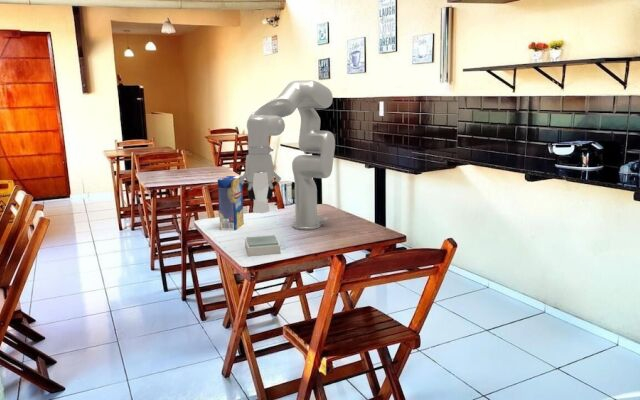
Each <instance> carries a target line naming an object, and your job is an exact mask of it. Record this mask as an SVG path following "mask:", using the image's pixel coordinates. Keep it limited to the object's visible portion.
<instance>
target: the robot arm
mask: <svg viewBox="0 0 640 400" xmlns="http://www.w3.org/2000/svg"><path fill="white" fill-rule="evenodd" d="M333 98H334V96H333V93H332V90H331V89H330V88H329V87H327V86H325V85H324V84H322V83H320V82H319V81H315V80H313V79H312V80H309V79H308V80H293V81H290V82H289V83H288V84H287V85H286V86H285V88H284V89H283V90H282V91H281V92H280V94H279V95H278V96H277V97H276V98H273V99H271V100H269V101H267V102H265V103H263V104H261V105H260V106H258V107H256V108H255V109H254V111H253V112H252V113H251V114H250V116H249V117H248V119H247V120H246V129H247V145H248V147H247V149H248V154H246V156H245V157H246V158H245V172H244V173H243V175H241V176H242V177H241V178H240V179H239V182H240V183H241V184H242V186H244V188H245V189H247V197H248V199H249V200H250V201H251V202H253V201H254V200H253V191H252V182H253V178H254V173H263V172H267V176H268V181H269V186H270V188H269V195H268V201H271V200H272V198H273V193H274V192H273V189H274V188H275V187H276V186H277V184H278V183H279V182H280V181H281V180H282V178H281V176H279V175H278V173H276V172H275V170H274V163H273V162H274V161H273V157H272V154H271V152H274V147H271V146H270V138H269V137H270V136H271V137H273V136H274V137H275V136H276V137H277V136H279V135H281V134H283V132H284V131H285V128H286V124H285V120H284V119H283V118H285V117H288V116H290V115H292V114H294V112H295V111H296V109H297V111H298V114H299V116H300V125H299V127H300V128H299V136H298V149H299V150H300V151H301V152H305V153H318V154H320V155H313V154H312V155H311V154H301V155H297V156H295V157H294V158H293V160H292V163H291V168H292V174H293V179H294V200H295V201H294V204H295V207H294V208H295V209H294V211H295V215H294V216H295V221H294V222H292V225H291V226H292V228H293V229H297V230H303V231H306V230H307V231H308V230H311V231H312V230H317V229H319V228H321V226H322V225H321V223H323V222H324V223H325V222H326V223H328V221H329V218H328V217H327V216H325V217H324V216H318V189H317V185H316V182H315V180H314V179H313V178H315V179H327V178H329V177H331V174H332V172H333V166H334V157H335V151H336V150H335V148H336V138H335V136H334V133H333V132H331V131H329V130H320V129H321V117H320V116H319V114H318V112H317V110H316V109H327V108H329V107H331V105H333ZM244 180H246V181H244ZM247 182H248V183H247Z"/></svg>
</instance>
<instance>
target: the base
mask: <svg viewBox="0 0 640 400" xmlns="http://www.w3.org/2000/svg"><path fill="white" fill-rule="evenodd" d="M244 248H245V251H246V254H247V257H255V256H268V255H269V256H270V255H280V254H281V250H282V249H281V244H280V242H279V240H278V238H277V237H276V236H275V234H273V235H258V236H257V235H256V236H247V237H246V238H244Z"/></svg>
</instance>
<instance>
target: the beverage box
mask: <svg viewBox="0 0 640 400" xmlns="http://www.w3.org/2000/svg"><path fill="white" fill-rule="evenodd" d="M241 177H242V175H241V176H240V175H226V176H224V177H221V178H218V179H217V194H218V211H219V213H218V214H219V215H218V216H219V230H220V231H236V230H238V229H239V228H241V227H242V226H243V225H245V223H244V222H245V220H244V200H243V199H244V197H243V185H242V184H241V183H240V182H239V179H240V178H241Z"/></svg>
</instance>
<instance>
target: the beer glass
mask: <svg viewBox="0 0 640 400" xmlns="http://www.w3.org/2000/svg"><path fill="white" fill-rule="evenodd" d="M269 188H270V186H269V181H268V176H267V172H263V173H254V178H253V182H252V191H253V200H252V201H253V207H252V212H253V213H254V214H255V213H256V214H264V213H265V214H266V213H269V211H270V207H269V198H268V195H269Z"/></svg>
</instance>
